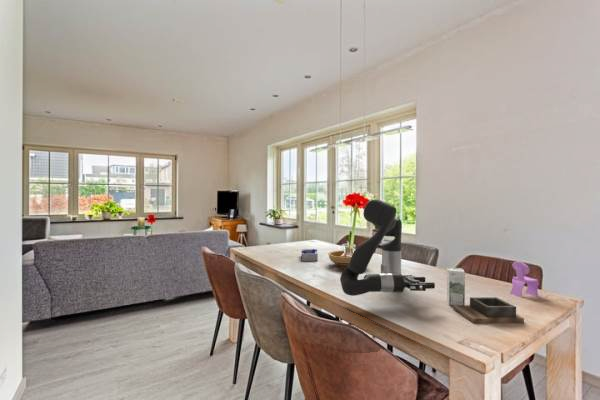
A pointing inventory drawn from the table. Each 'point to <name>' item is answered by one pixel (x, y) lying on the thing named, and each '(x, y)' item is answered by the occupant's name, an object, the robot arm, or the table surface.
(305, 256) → the desk tidy
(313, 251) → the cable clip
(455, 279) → the syrup box
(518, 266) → the toy chair
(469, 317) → the socket block
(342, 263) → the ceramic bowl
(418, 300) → the table surface
